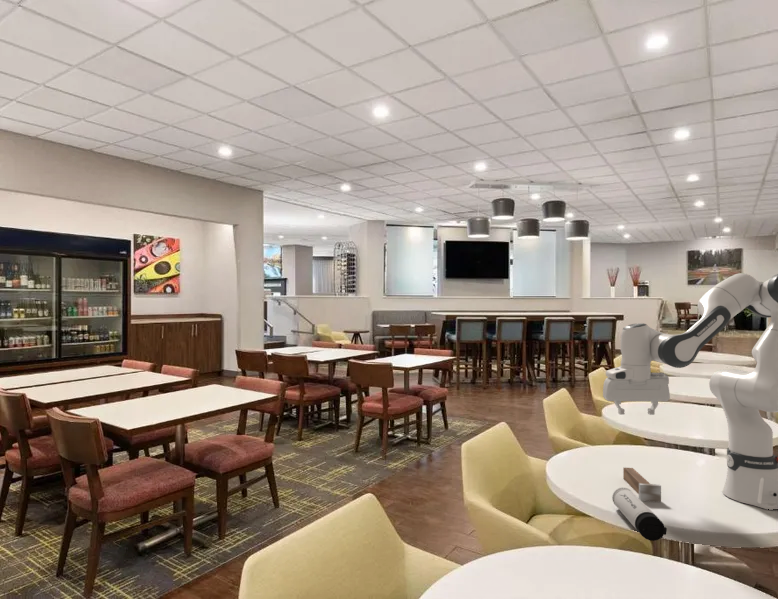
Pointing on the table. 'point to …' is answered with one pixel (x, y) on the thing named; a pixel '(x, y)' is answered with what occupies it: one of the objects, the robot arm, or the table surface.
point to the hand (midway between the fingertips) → (636, 414)
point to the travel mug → (639, 514)
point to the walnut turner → (642, 486)
